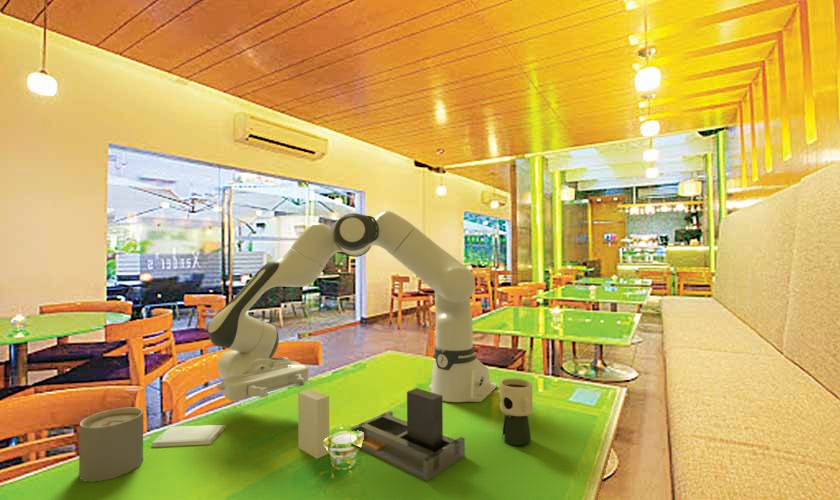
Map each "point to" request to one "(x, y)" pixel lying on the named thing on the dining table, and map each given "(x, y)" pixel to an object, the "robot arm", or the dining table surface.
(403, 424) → the rack
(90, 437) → the coffee mug
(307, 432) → the beige rectangular block
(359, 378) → the dining table surface
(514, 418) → the character mug
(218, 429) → the hard drive
